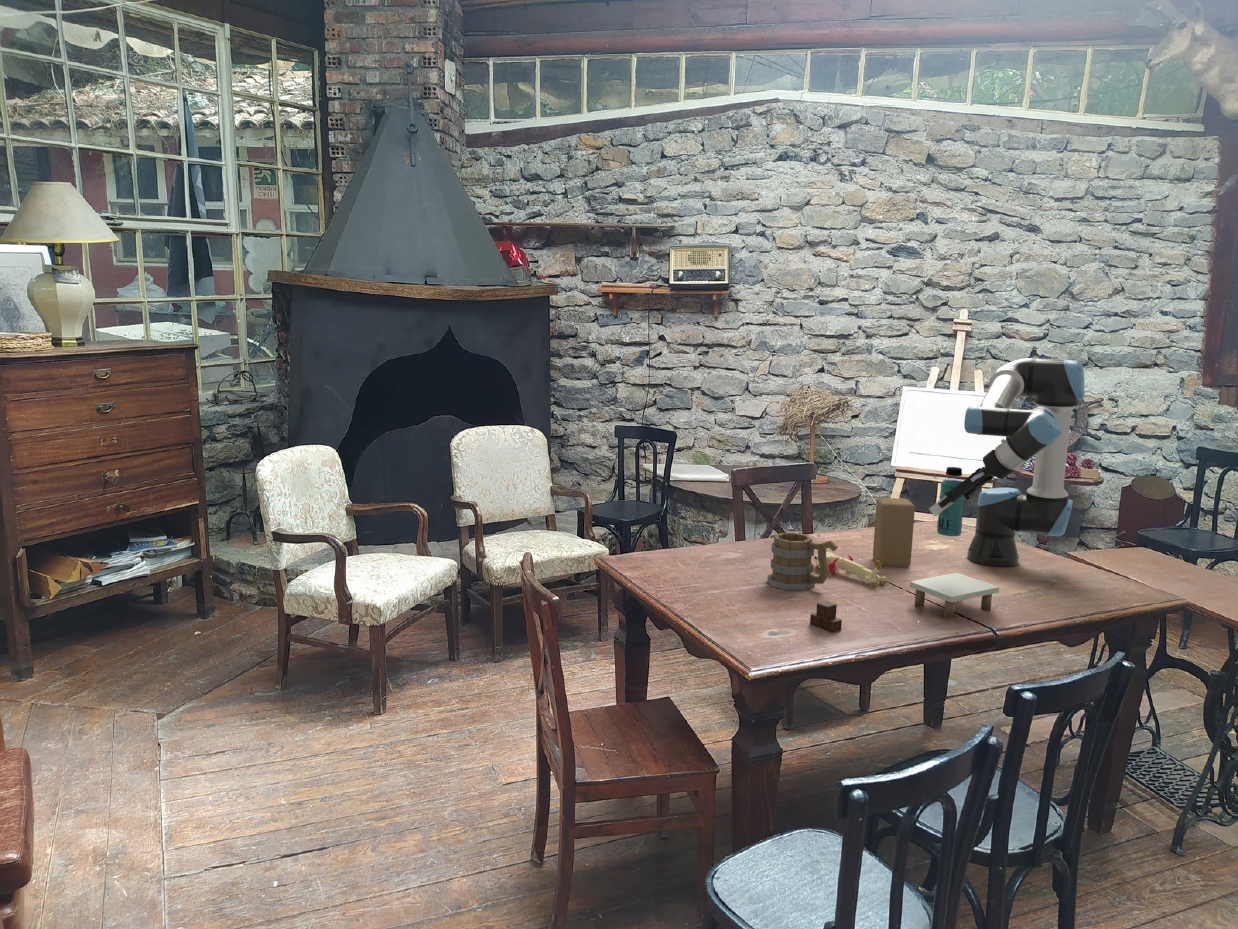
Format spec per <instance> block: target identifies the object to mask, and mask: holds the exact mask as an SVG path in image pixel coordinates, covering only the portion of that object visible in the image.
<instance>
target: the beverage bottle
mask: <svg viewBox="0 0 1238 929" xmlns="http://www.w3.org/2000/svg"><path fill="white" fill-rule="evenodd" d="M962 471H963V469H962V467H957V466H947V467H946V470H945V475H946V476H949V477H950V476H951V477H963V472H962ZM963 481H964V480H962V479H959V478H958V479H957V478H945V479H944V480H942V481H941V482H940V493H939V496H938V497H939V500H941V499H942V498H943V497H944V496H946V494H945V492H947V493H948V492H949V491H951V490H952V489H953V488H955V487H956V486H957V485H959V484H960V483H961V482H963ZM964 498H965V497H964V495H962V496H961V497H960V498H958V499H957V500H955V502H954V503H953V504H952V505H950V506H949V507H948V508H946V509H945V510H944V511H942V512H941V513H940V514H938V515H937V522H936V523H937V526H936V531H937V534H939V535H942V536H945V537H946V536H947V537H959V536H961V535H962V529H963V517H964V515H963V514H964V500H965V499H964ZM939 500H938V501H939Z"/></svg>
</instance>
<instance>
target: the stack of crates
mask: <svg viewBox="0 0 1238 929" xmlns="http://www.w3.org/2000/svg"><path fill="white" fill-rule="evenodd" d="M837 606H838V605H837V603H834V602H833V601H832V602H831V601H829V600H822V601H820V602H817V603H816V611H815V612H812V613H810V618H809V625H810V626H813V627H815V628H817V629H820V630H823V631H826V632H828V633H831V634H834V633H836V632H840V631H842V618H838V617H837Z"/></svg>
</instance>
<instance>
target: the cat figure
mask: <svg viewBox="0 0 1238 929" xmlns="http://www.w3.org/2000/svg"><path fill="white" fill-rule="evenodd" d="M847 557H848V558H846V557H844V558H843V557H841V556H839V555H837V554H836V553H833V552H831V551H826V559H827V563H828V567H829V572H830V574H831V575H832V576H835V573H836V572H835V569H839V570H841V571H846V572H847V573H850V574H852V575H855V576H856V577H857V578H860V579H861V580H863V582H864V583H865V584H867V585H870V587H871V588H873V589H876V588H877V587H879V585H880V586H881V587H885V586H886V585H887V583H888V581H887V577H886V576H880V575H878V574H877V573H880V572H882V571H883V567H884V566H882V565H881V562H880V561H879V560H876V561H875V560H874V562H873V564H874V566H875V567H876V568H874V569H873V570H871V569H869V568H867V567H866V566H864V565H862V564H860V563H857V562H855V561H854V559H853V558H852V556H850V555H849V554H848V555H847ZM813 561H814V562H815V564H816V566H817V567H818V569H821V568H820V564H819V560H818V554H815V555H814V560H813Z"/></svg>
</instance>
